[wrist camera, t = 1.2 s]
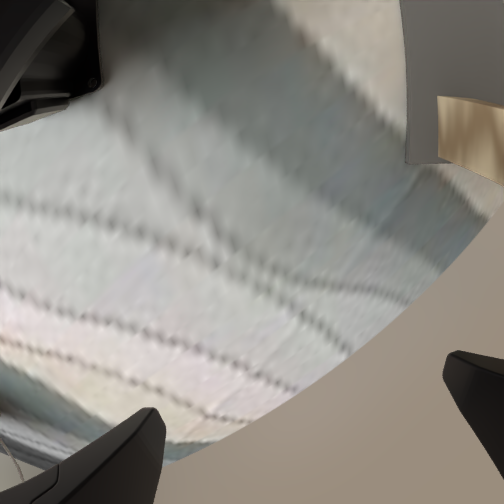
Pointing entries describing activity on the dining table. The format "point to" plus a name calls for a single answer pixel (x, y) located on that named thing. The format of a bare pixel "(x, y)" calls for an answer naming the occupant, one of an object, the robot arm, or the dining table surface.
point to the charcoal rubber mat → (449, 63)
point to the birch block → (472, 135)
